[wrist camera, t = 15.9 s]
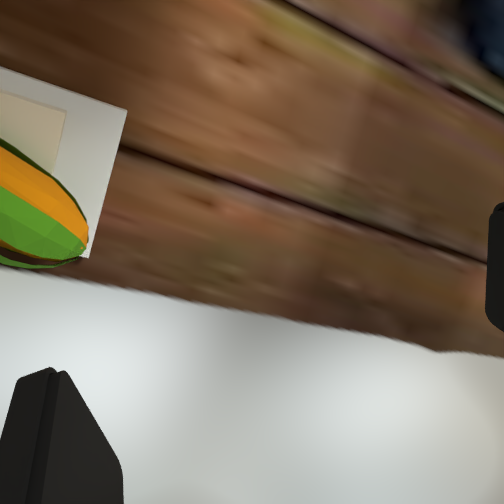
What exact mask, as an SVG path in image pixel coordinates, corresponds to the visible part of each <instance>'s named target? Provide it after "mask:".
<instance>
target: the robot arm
mask: <svg viewBox="0 0 504 504" xmlns="http://www.w3.org/2000/svg"><path fill="white" fill-rule="evenodd" d="M485 312H486V315H487V317H488V319H489V320H490V322H491V323H492V324H493V325H494V326H496V327H497V328H499V329H500V330H501V331H503V332H504V202H502V203H499V204H498V205H497V206H496V207H495V208H494V210H493V213H492V214H491V216H490V218H489V233H488V256H487V278H486V300H485ZM123 499H124V498H123V474H122V469H121V465H120V463H119V460H118V458H117V456H116V455H115V453H114V451H113V449H112V448H111V446H110V444H109V443H108V441H107V439H106V437H105V436H104V434H103V432H102V430H101V429H100V427H99V426H98V424H97V422H96V420H95V419H94V417H93V415H92V413H91V412H90V410H89V408H88V407H87V405H86V403H85V401H84V400H83V398H82V396H81V395H80V393H79V391H78V389H77V388H76V386H75V385H74V383H73V381H72V379H71V378H70V376H69V375H68V373H67V372H66V371H60V372H56V370H55V369H53V368H52V367H49V368H46V369H43V370H40V371H37V372H35V373H32V374H29V375H27V376H24V377H21V378H19V379H18V380H17V383H16V385H15V389H14V392H13V396H12V399H11V403H10V406H9V410H8V413H7V417H6V421H5V424H4V428H3V431H2V435H1V438H0V504H124V500H123Z"/></svg>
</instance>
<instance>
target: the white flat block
mask: <svg viewBox="0 0 504 504" xmlns="http://www.w3.org/2000/svg"><path fill="white" fill-rule="evenodd" d="M126 115H127V110H125V109H123V108H120V107H117V106H114V105H111V104H108V103H105V102H102V101H99V100H97V99H94V98H91V97H88V96H85V95H82V94H79V93H76V92H73V91H70V90H68V89H65V88H62V87H59V86H56V85H53V84H50V83H47V82H44V81H42V80H39V79H36V78H33V77H30V76H27V75H24V74H21V73H18V72H15V71H13V70H10V69H7V68H4V67H1V66H0V138H1V139H3V140H5V141H6V142H8V143H9V144H11V145H13V146H14V147H16V148H17V149H18V150H19V151H21V152H22V153H23V154H25V155H26V156H27V157H29V158H30V159H31V160H33V161H34V162H35V163H37V164H38V165H39V166H40V167H42V168H43V169H44V170H46V171H47V172H48V173H50V174H51V175H52V176H54V177H55V178H56V179H57V180H59V181H60V182H61V184H62V185H63V186H64V187H65V188H66V189H67V190H68V191H69V192H70V193H71V194H72V195H73V197H74V198H75V199H76V201H77V203H78V204H79V206H80V208H81V210H82V212H83V214H84V215H85V217H86V219H87V225H88V226H89V230H88V237H89V242H88V243H87V247H86V248H87V249H86V250H85V251H84V252H83V254H82V255H80V256H82V257H87V258H89V254H90V250H91V246H92V243H93V239H94V235H95V231H96V228H97V224H98V220H99V216H100V213H101V209H102V205H103V201H104V198H105V194H106V190H107V186H108V183H109V179H110V175H111V171H112V168H113V164H114V160H115V156H116V153H117V149H118V145H119V141H120V138H121V134H122V130H123V126H124V123H125V119H126Z"/></svg>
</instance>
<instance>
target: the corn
mask: <svg viewBox="0 0 504 504" xmlns="http://www.w3.org/2000/svg"><path fill="white" fill-rule="evenodd" d="M88 230H89V226H88V225H87V219H86V217H85V215H84V214H83V212H82V210H81V208H80V206H79V204H78V203H77V201H76V199H75V198H74V197H73V195H72V194H71V193H70V192H69V191H68V190H67V189H66V188H65V187H64V186H63V185H62V184H61V182H60V181H59V180H57V179H56V178H55V177H54V176H52V175H51V174H50V173H48V172H47V171H46V170H44V169H43V168H42V167H40V166H39V165H38V164H37V163H35V162H34V161H33V160H31V159H30V158H29V157H27V156H26V155H25V154H23V153H22V152H21V151H19V150H18V149H17V148H16V147H14V146H13V145H11V144H9V143H8V142H6V141H5V140H3V139H1V138H0V246H1V247H4V248H5V249H7V250H9V251H12V252H17V253H21V254H23V255H26V256H29V257H32V258H38V259H43V260H49V261H55V262H59V261H63V260H67V259H71V258H75V257H77V256H80V255H82V254H83V252H84V251H85V250H86V249H87V248H86V247H87V243H88V242H89V237H88ZM77 259H78V257H77V258H76V259H73V260H69V261H65V262H62V263H58V264H54V265H30V264H26V263H21V262H17V261H13V260H9V259H7V258H5V257H3V256H1V255H0V263H2V264H6V265H11V266H17V267H22V268H54V267H57V266H60V265H63V264H65V263H68V262H71V261H74V260H77Z"/></svg>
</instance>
